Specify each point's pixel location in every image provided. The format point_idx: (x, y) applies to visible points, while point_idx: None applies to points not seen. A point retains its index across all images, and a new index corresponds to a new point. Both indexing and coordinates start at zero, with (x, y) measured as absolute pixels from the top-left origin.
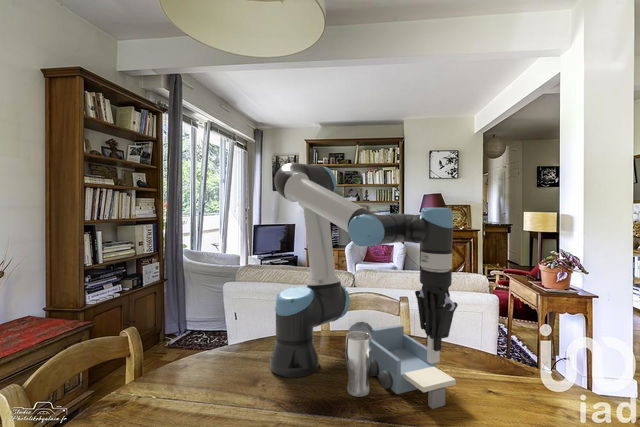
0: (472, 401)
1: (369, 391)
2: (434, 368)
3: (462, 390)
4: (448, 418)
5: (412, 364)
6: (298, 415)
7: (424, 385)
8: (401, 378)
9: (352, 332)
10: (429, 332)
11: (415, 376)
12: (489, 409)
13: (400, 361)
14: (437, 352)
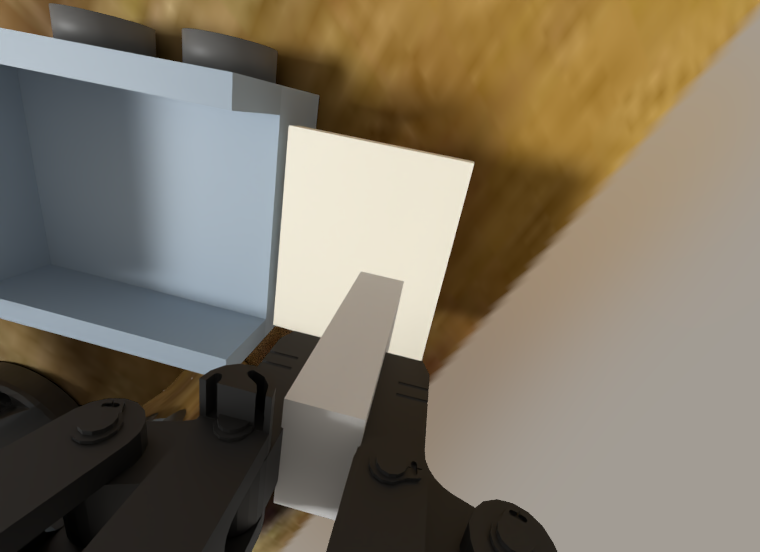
0: (512, 59)
1: (245, 363)
2: (310, 146)
3: (424, 8)
4: (507, 268)
5: (205, 188)
6: (261, 541)
7: (411, 350)
8: (274, 307)
9: None
10: (260, 523)
11: (325, 308)
12: (605, 44)
13: (229, 356)
14: (389, 337)
